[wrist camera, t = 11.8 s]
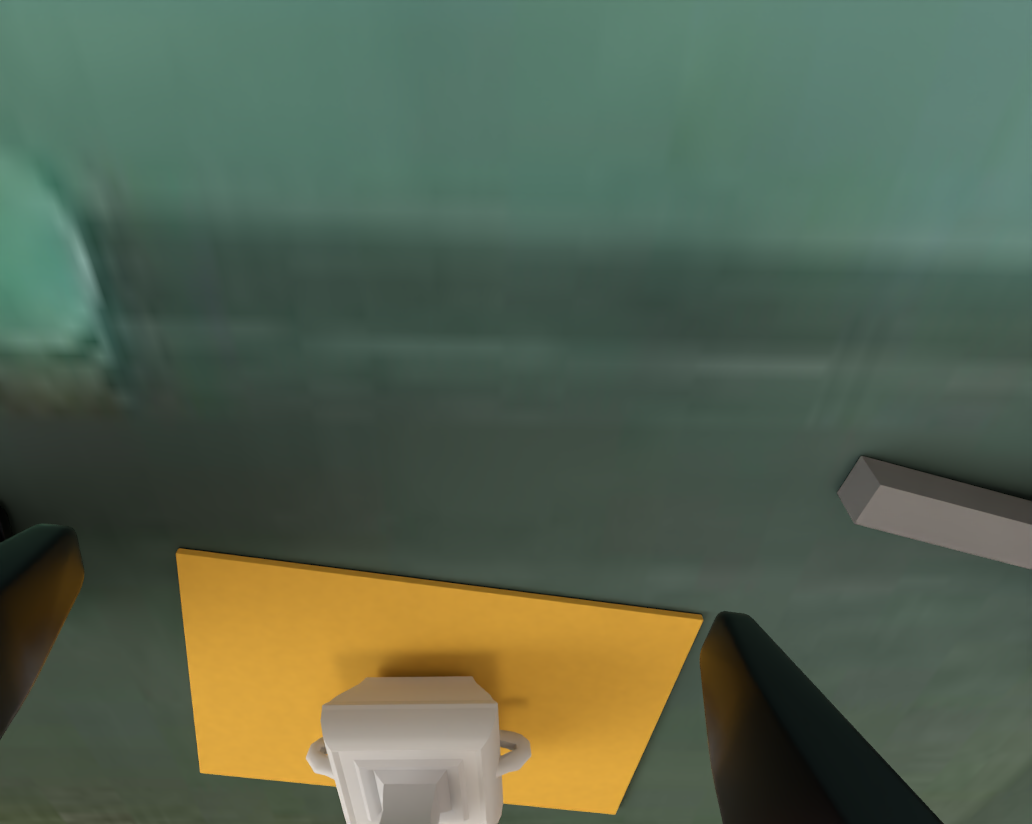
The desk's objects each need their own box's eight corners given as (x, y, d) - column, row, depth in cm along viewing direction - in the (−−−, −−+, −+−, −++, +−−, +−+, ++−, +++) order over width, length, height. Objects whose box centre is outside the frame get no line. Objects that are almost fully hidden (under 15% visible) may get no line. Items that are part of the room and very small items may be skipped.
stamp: (333, 750, 31) (278, 977, 24) (306, 652, 28) (231, 882, 21) (532, 747, 31) (536, 974, 24) (528, 648, 28) (532, 878, 20)
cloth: (202, 767, 32) (199, 773, 32) (178, 547, 25) (175, 553, 25) (614, 808, 34) (615, 814, 34) (702, 614, 27) (703, 620, 27)
